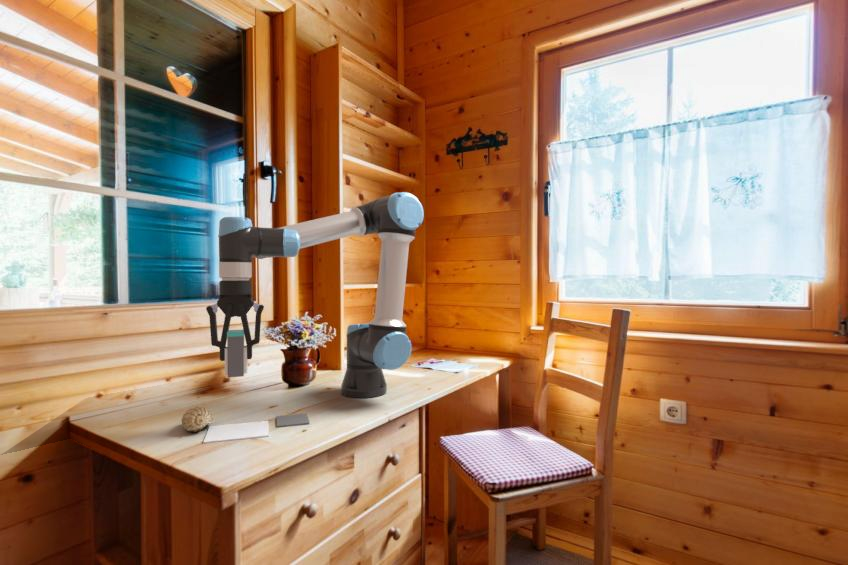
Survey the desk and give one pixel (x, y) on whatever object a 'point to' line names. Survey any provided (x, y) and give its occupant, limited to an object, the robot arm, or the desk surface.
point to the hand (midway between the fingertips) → (236, 372)
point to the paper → (237, 431)
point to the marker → (235, 353)
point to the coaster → (292, 420)
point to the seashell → (196, 419)
